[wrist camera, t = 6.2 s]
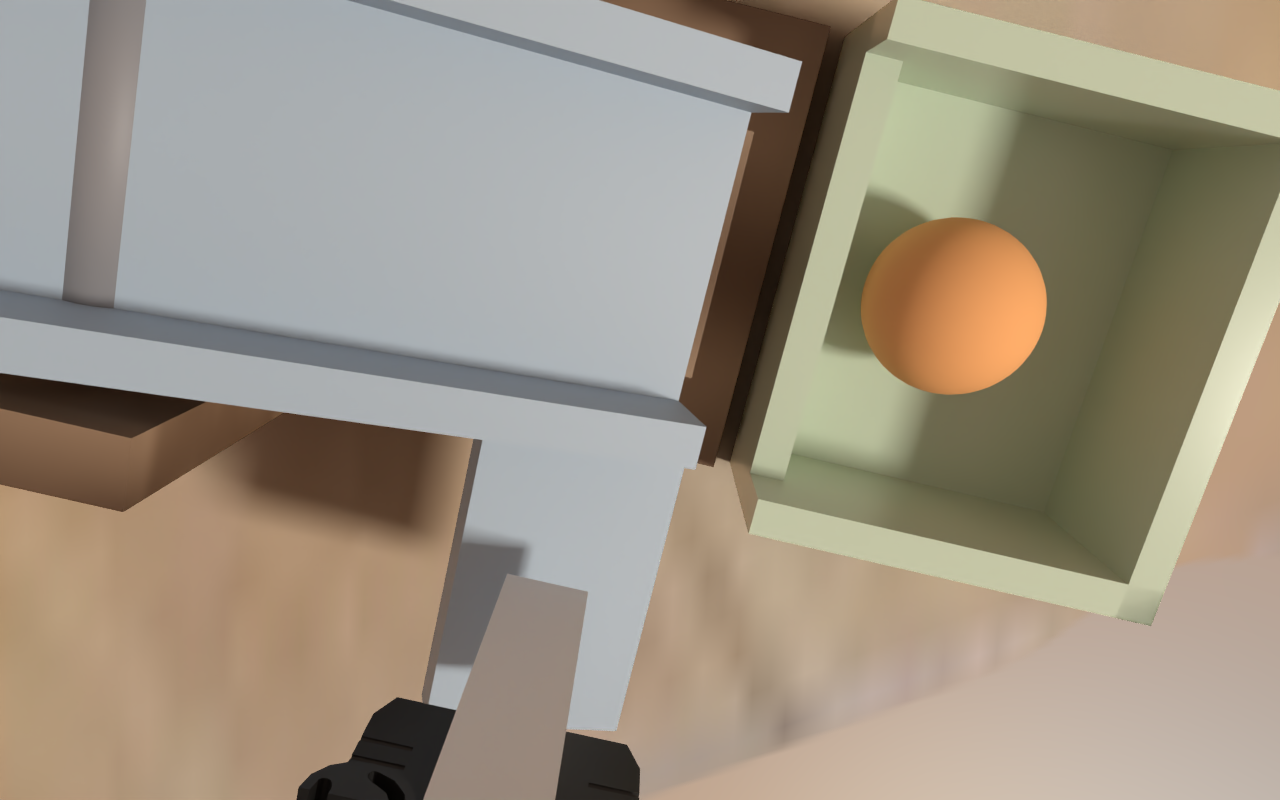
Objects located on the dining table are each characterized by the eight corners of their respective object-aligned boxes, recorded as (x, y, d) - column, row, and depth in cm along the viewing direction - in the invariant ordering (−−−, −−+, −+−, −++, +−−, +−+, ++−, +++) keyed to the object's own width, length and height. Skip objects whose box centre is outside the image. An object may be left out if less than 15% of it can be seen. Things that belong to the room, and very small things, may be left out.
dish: (844, 36, 22) (899, -6, 17) (1200, 126, 23) (1355, 110, 18) (729, 462, 25) (748, 533, 20) (1051, 537, 25) (1151, 626, 20)
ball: (856, 191, 22) (962, 210, 18) (990, 227, 23) (1114, 250, 20) (810, 355, 23) (902, 403, 19) (942, 379, 24) (1051, 428, 21)
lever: (-775, -410, 11) (-1408, -698, 7) (765, 54, 18) (880, 37, 14) (-672, 631, 14) (-1075, 832, 10) (603, 697, 21) (658, 836, 17)
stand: (-134, -209, 22) (-856, -565, 11) (824, 32, 22) (968, -96, 12) (-153, 257, 24) (-757, 314, 14) (711, 457, 25) (750, 653, 15)
